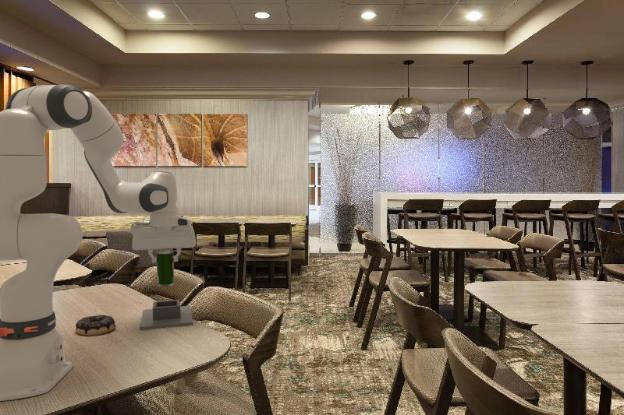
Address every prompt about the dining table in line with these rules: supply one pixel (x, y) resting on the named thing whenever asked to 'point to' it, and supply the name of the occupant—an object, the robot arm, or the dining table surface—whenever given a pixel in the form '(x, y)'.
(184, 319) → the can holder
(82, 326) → the donut
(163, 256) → the beer can
